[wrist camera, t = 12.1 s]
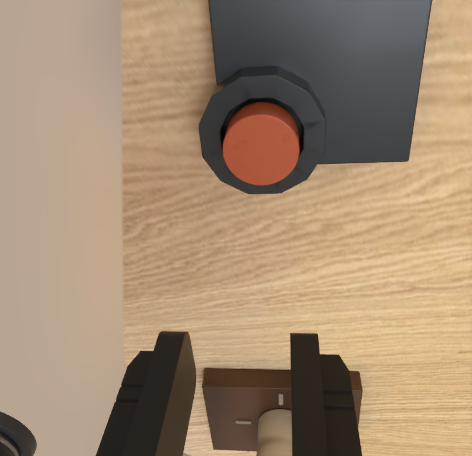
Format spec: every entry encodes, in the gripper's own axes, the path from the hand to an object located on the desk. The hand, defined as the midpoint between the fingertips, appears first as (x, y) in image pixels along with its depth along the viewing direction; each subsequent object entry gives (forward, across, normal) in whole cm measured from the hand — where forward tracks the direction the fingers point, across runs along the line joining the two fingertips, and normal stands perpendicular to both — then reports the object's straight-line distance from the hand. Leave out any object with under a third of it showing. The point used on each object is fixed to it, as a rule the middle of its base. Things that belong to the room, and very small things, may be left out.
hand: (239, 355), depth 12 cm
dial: (+17, -1, +29) cm, 34 cm away
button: (+16, 0, 0) cm, 16 cm away
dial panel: (+19, 0, +29) cm, 35 cm away
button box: (+19, -3, -3) cm, 20 cm away
